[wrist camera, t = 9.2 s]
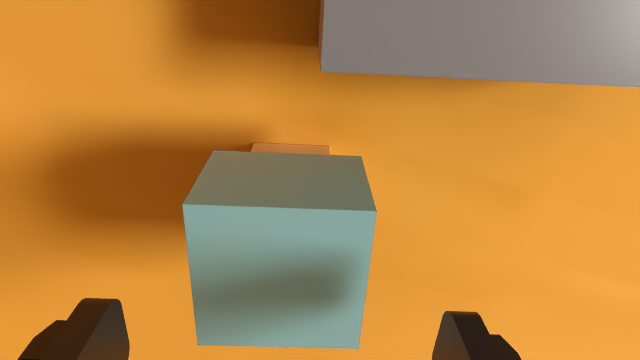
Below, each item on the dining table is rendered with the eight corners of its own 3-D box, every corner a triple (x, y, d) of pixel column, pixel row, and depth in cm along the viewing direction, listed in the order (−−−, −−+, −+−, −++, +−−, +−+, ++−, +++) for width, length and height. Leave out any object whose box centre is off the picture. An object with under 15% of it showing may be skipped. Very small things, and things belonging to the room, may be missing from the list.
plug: (342, 228, 21) (358, 348, 14) (235, 224, 20) (197, 345, 14) (352, 125, 18) (376, 211, 11) (230, 120, 18) (182, 204, 11)
